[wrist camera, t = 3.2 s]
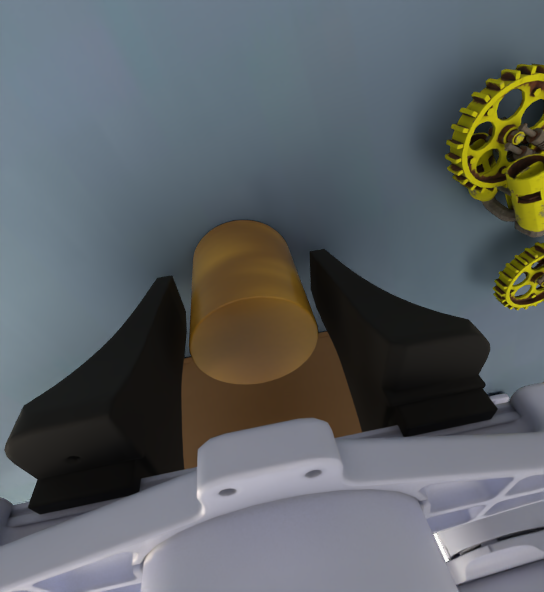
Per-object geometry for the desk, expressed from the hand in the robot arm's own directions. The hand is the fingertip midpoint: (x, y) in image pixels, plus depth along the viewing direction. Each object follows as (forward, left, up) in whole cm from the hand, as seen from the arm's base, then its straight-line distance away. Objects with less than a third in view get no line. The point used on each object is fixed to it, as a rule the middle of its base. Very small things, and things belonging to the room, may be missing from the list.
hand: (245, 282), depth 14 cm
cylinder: (0, 0, -1) cm, 1 cm away
